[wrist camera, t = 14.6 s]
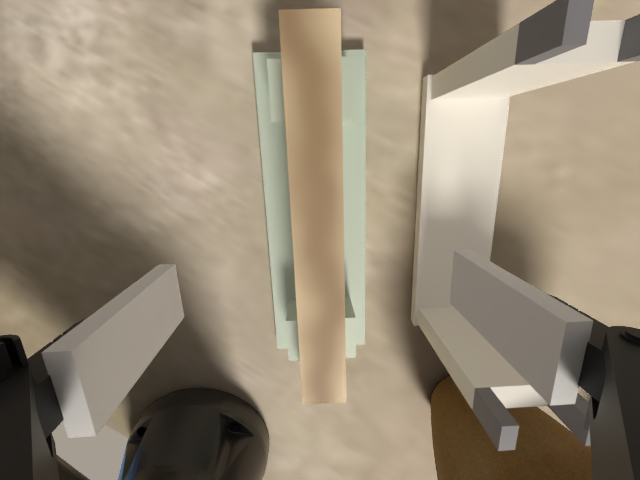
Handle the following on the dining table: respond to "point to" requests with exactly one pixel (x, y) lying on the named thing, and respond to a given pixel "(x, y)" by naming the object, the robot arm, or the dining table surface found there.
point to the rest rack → (279, 195)
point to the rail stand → (492, 188)
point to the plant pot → (502, 466)
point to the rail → (316, 194)
